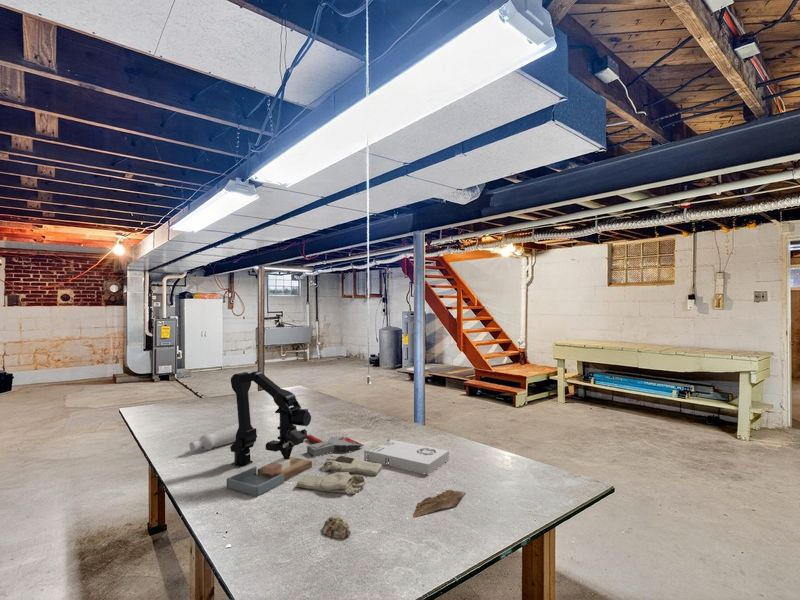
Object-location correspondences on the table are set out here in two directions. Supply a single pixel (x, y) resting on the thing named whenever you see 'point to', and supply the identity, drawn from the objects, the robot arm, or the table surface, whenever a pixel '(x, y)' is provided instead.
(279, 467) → the terracotta tile
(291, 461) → the board
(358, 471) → the pair of gloves
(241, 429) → the robot arm
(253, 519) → the table surface
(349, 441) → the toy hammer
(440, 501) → the wooden fragment
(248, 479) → the tray
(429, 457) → the power supply unit
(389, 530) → the table surface
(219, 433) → the bottle
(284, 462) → the cream tile
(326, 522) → the mineral rock
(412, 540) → the table surface
